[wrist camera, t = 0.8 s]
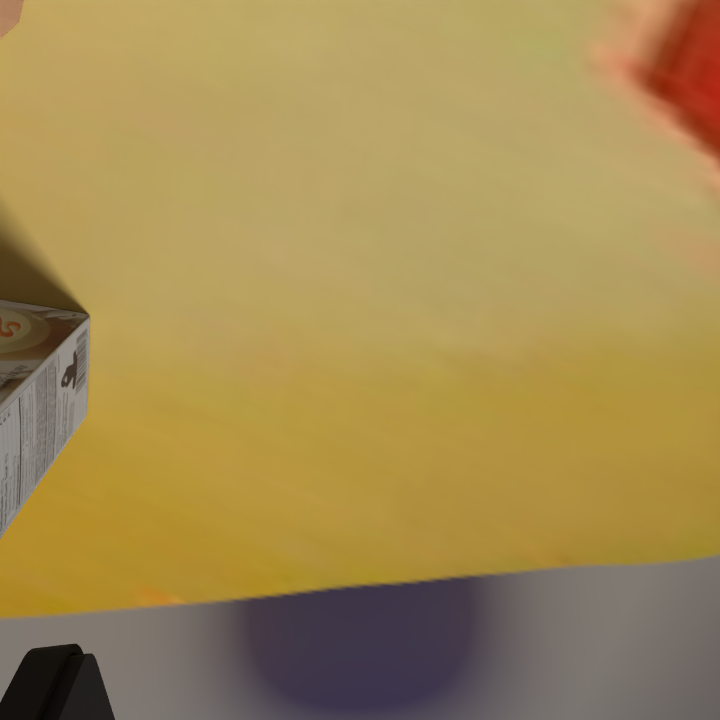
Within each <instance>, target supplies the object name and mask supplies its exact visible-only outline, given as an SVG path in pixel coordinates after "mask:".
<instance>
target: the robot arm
mask: <svg viewBox="0 0 720 720" xmlns="http://www.w3.org/2000/svg"><path fill="white" fill-rule="evenodd" d="M0 720H115V718H114V715H113V712H112V709H111V705H110V703H109V699H108V696H107V693H106V690H105V686H104V683H103V680H102V677H101V674H100V671H99V667H98V664H97V661H96V659H95V657H94V655H93V654H83V652H82V649H81V648H80V647H79V645H77V644H68V645H59V646H50V647H42V648H34V649H31V650H30V651H28V653H27V654H26V655H25V657H24V658H23V660H22V662H21V664H20V666H19V668H18V670H17V671H16V673H15V675H14V677H13V679H12V681H11V683H10V685H9V687H8V689H7V691H6V692H5V694H4V696H3V698H2V701H1V702H0Z"/></svg>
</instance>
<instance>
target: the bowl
mask: <svg viewBox="0 0 720 720" xmlns="http://www.w3.org/2000/svg"><path fill="white" fill-rule="evenodd" d="M22 4H23V0H0V38H2V37H3V36H4V35H5V34H6V33H7V32H8V31H9V30H10V29H11V28H12V27H13V26H14V25H15V24H16V23H18V22H19V17H20V13H21V8H22Z"/></svg>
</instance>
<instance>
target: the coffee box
mask: <svg viewBox="0 0 720 720" xmlns="http://www.w3.org/2000/svg"><path fill="white" fill-rule="evenodd" d="M89 338H90V317H89V315H87V314H84V313H79V312H74V311H68V310H62V309H56V308H50V307H43V306H37V305H30V304H24V303H18V302H12V301H6V300H0V538H1V537H2V535H3V534H4V533H5V531H6V530H7V528H8V527H9V525H10V524H11V523H12V521H13V520H14V518H15V517H16V515H17V514H18V513H19V511H20V510H21V508H22V507H23V505H24V504H25V503H26V501H27V500H28V498H29V497H30V495H31V494H32V493H33V491H34V490H35V488H36V487H37V485H38V484H39V483H40V481H41V480H42V478H43V477H44V476H45V474H46V473H47V471H48V470H49V468H50V467H51V466H52V464H53V462H54V461H55V459H56V458H57V457H58V455H59V454H60V453H61V451H62V450H63V448H64V447H65V445H66V444H67V442H68V441H69V439H70V438H71V437H72V435H73V434H74V432H75V431H76V430H77V428H78V427H79V426H80V424H81V423H82V421H83V420H84V418H85V417H86V413H87V395H88V367H89Z"/></svg>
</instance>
